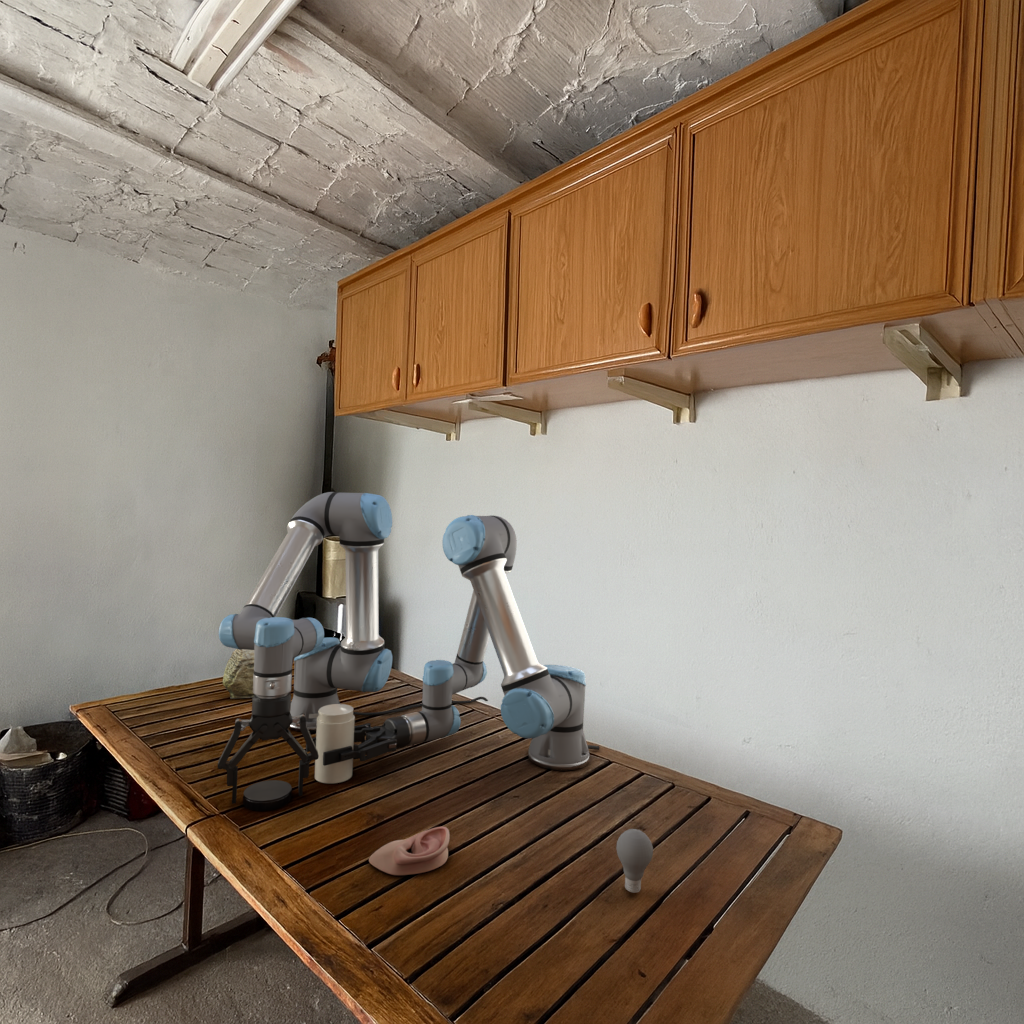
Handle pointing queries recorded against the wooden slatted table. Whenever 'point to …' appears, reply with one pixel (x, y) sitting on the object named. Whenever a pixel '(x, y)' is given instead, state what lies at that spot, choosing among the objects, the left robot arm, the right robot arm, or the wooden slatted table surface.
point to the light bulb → (634, 857)
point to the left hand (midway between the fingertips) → (267, 796)
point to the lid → (267, 795)
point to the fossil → (240, 674)
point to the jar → (334, 741)
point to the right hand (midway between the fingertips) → (315, 752)
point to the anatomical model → (413, 853)
